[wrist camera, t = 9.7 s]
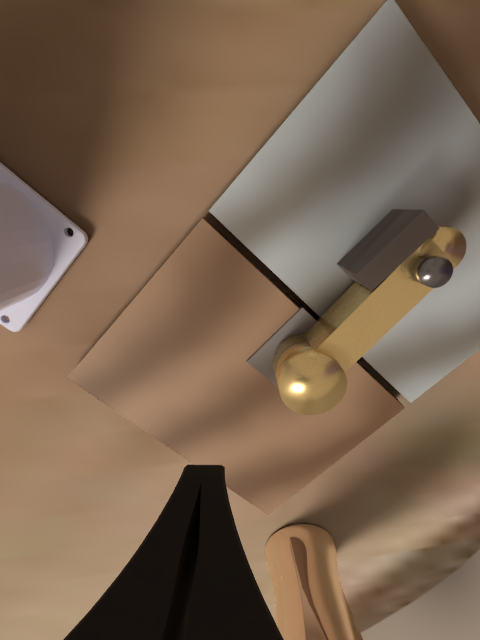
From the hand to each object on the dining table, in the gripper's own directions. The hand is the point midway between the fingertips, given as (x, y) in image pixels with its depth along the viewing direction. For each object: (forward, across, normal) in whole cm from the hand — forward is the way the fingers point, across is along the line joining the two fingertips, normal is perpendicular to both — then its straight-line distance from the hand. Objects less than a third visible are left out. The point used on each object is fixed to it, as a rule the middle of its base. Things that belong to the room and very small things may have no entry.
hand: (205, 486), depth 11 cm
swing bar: (+9, -8, -4) cm, 12 cm away
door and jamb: (+10, -6, -3) cm, 12 cm away
